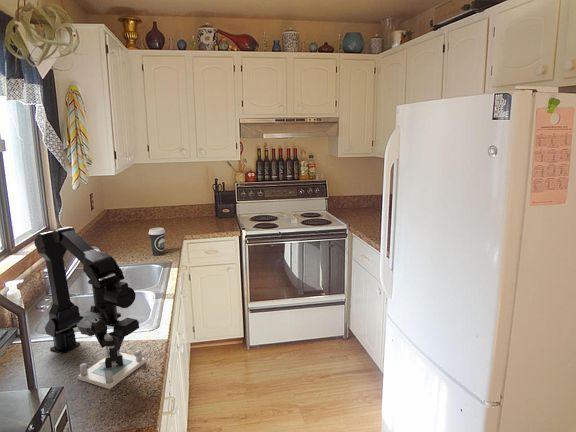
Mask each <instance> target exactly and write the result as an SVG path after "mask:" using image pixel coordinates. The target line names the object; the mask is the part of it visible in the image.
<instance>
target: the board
mask: <svg viewBox="0 0 576 432" xmlns="http://www.w3.org/2000/svg"><path fill="white" fill-rule="evenodd" d="M120 353H121V355H122V356H123V366H117V367H115V368H112V367H111V368H106V367H102V365H105V364H102V363H103V362H105V359H106V357H104V358H103V359H101V360H99V361H98V362H97V363H95V364H92V366H90V367H89V368H88V364H87V363H86V362H83V363H80V365H79V370H80V374H78V375H77V379H78V380H80V381H83V382H86V383H89V384H93V385H95V386H99V387H102V388H105V389H107V390H111V389H112V388H113V387H115V386H116V385H117V384H118V383H120V382H122V381H123V380H124V379H126V378H127V377H128V376H129V375H131V374H132V373H133V372H134V371H136V370H137V369H138V368H140V367H141V366H142V365H144V364H145V363H146V358H144V357H143V354H142V353H143V352H142V349H136V350H135V352H134V353H135V355H133V354H132V355H131V354H130V353H124V352H120ZM109 357H110V356H109ZM100 363H101V364H100ZM99 364H100V365H99ZM100 366H101V367H100Z"/></svg>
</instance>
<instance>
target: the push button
mask: <svg viewBox="0 0 576 432" xmlns="http://www.w3.org/2000/svg"><path fill="white" fill-rule="evenodd" d="M112 332H113V331H110V332H107V334H105V336H104V337H103V338H102V342H103V345H104V346H105V351H106V352H105V353H106V355H105V358H106V359H105V362H103V363H102V364H105V365H102V367H106V368H111V367H112V368H115V367H117V366H123V356H122V355H121V353H122V352H121V353H120V350H119V351H116V350H115V347H114V341H113V337H112V336H110V335H109V334H110V333H112ZM109 356H110V357H109ZM100 364H101V363H100ZM100 364H99V365H100ZM100 367H101V366H100Z"/></svg>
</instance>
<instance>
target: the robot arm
mask: <svg viewBox="0 0 576 432" xmlns="http://www.w3.org/2000/svg"><path fill="white" fill-rule="evenodd" d="M33 241H34V246H35V248H36V251H37V253H38V255H39V256H41V257H42V259H44V261H45V266H46V271H47V276H48V281H49V282H48V283H49V288H50V293H51V298H52V305H51V307H50V309H49V311H48V318H49V319H48V322H46V325H45V326H44V331H45V333H46V335H48V336H50V337H52V340H53V346H51V347H50V348H49V350H50V351H51V352H52V351H53V352H57V353H59V354H66V353H68V352H69V351H71V350H73V349H74V348H76V347H78V346H79V345H81V342H80V341H77V338H76V334H75V329H76V328H77V329H78V330H79V332H80V334H81V335H85V336H88V337H93V336H94V337H95V339H97V341H98V344H99V346H100V347H101V348H102V349H103V348H106V346H104V345H103V342H102V338H103V337H104V336H105V334H107V333H108V327H110V328H111V327H112V330H113V331H111V332H112V333H110V332H109V333H110V334H109V335H110V336H112V337H113V341H114V347H115V350H116V351H119V350H120V349H121V347H122V345H123V342H124V340H125V337H127V336H129V335H131V334H132V333H134V332H135V331H136V330H138V329H140V321H139V320H138V319H135V318H132V317H125V318H124V319H121V320H119V318H121V317H122V313H121V312H118V307H119V308H121V309H128V308H129V307H131V306H132V305H133V304H134V302H135V300H136V291H135V290H134V288H132V287H130V286H129V284H128V282H125V281H123V280H125V276H124V271H122V268H120V266H119V265H118V262H117V261H116V260H115V258H114V257H113V256H111V255H110V254H109V253H106V251H105V252H104V251H99V250H96V249H95V248H94V247H93V246H91V245H90V244H89V243H88V242H87V241H86V240H85V239H84V238H82V236H80V235H79V234H78V233H77V232H76V230H75V228H74V227H72V226H66V227H60V228H57V229H55V230H50V231H46V232H41V233H38V234H37V235H36V237H34V239H33ZM68 251H69V253H71V255H72V256H74V257H75V258H76V259H77V260H78V261H79V262H80V263H81V265H82V270H83V272H84V274H85V275H86V276H87V278H88V279H89V280H88V281H87V283H88V284H89V285H91V287H92V288H91V289H92V296H93V304H92V305H90V309H89V310H87V311H85V312H83V313H81V314H80V307H79V306H78V305H76V304H75V303H74V302H72V300H71V296H70V291H69V289H70V288H69V284H68V278H67V271H66V267H65V266H66V265H65V260H64V257H65V255H66V253H67V252H68Z"/></svg>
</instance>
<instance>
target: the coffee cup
mask: <svg viewBox="0 0 576 432" xmlns="http://www.w3.org/2000/svg"><path fill="white" fill-rule="evenodd" d="M147 234H148V235H149V240H150V247H151V253H152V256H154V257H159V256H160V257H162V256H163V255H165V250H166V248H165V246H166V245H165V244H166V243H165V242H166V241H165V239H166V236H165V235H166V229H165V228H164V227H152V228H149V231H148V233H147Z"/></svg>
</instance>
